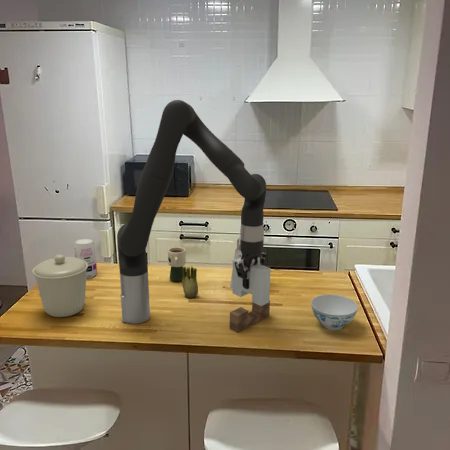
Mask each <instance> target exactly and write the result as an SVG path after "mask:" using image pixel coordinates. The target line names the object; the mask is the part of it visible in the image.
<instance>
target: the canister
mask: <svg viewBox="0 0 450 450" xmlns="http://www.w3.org/2000/svg"><path fill="white" fill-rule="evenodd" d="M87 268H88V263H87V262H86V261H84V260H81V259H79V258H75V256H65V255H64V254H62V253H59V254H56V255H55V256H54V257H52V258H49V259H46V260H42V261H41V262H40V263H38V264H37V265H36V266H34V268H32V269H31V270H32V274H33V276H34V277H35V280H36V285H37V289H38V293H39V296H40V300H41V302H42V303H41V304H42V307H43V310H44V312H46V314H47V315H49V316H51V317H55V318H65V317H71V316H73V315H76V314H78V313H80V312H81V311H82V310H83V308H84V307H85V304H86V303H85V302H86V291H87V290H86V288H87V278H86V269H87Z"/></svg>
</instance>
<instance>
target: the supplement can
mask: <svg viewBox="0 0 450 450" xmlns="http://www.w3.org/2000/svg"><path fill="white" fill-rule="evenodd" d="M73 249H74V257H75V258H79V259H81V260H84V261H86V262H87V263H88V268H87V269H86V279H92V278H94V277H95V276H96V275H97V274H98V267H97V256H96V255H97V254H96V243H95V242H94V240H93V239H92V238H79V239H77V240H76V241H74V244H73Z"/></svg>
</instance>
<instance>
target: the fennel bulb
mask: <svg viewBox="0 0 450 450" xmlns="http://www.w3.org/2000/svg"><path fill="white" fill-rule="evenodd" d="M182 271H183V279H182V280H181V282H182V289H183V293H184V295H185V297H186V298H189V299H191V298H195V297H197V295H198V294H199V284H198V281H197V280H198V279H197V271H198V268H197V267H194V266H186V265H184V266H183V267H182Z"/></svg>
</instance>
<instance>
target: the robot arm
mask: <svg viewBox="0 0 450 450" xmlns="http://www.w3.org/2000/svg"><path fill="white" fill-rule="evenodd" d="M183 136H185V137H186V138H188V139H189V140H190V141H191V142H193V143H194V144H195V145H196V146H197V147H198V148H199V149H200V150H201V151H202V153H203V154H204V155H205V156H206V157H207V159H208V160H209V161H210V162H211V163H212V165H214V166H215V168H216V169H218V171H220V172H221V174H223V176H225V177H226V178H227V179H228V180H229V182H230V184H231V185H232V187H234V189H235V191H236V192H237V193H238V194H239V196H241V197H242V198H244V203H243V206H242V208H241V214H240V216H241V217H240V229H239V230H240V235H239V238H240V251H241V252H242V257H241V260H240V261H239V262H237V261H236V262H235V268H236V271H237V275H238V277H240V278H243V284H242V286H243V288H245V289H249V277H250V272H251V267H253V265H256V264H257V265H258V264H261V265H263V266H266V264H267V260H268V253H266V252H263V251H264V239H265V238H264V237H265V229H264V207H265V203H266V202H265V201H266V196H267V183H266V179H265V178H264V177H263V176H262V175H261V174H259V173H252V174H251V173H250V172H249V171H248V170H247V168H246V167H245V163H244V162H243V160H242V159H241V158H240V157H239V156H238V155H237V154H236V153H235V152H234V151H233V150H232V149H230V147H228V146H227V145H226V144H225V143H224V142H223V141H222V140H220V138H218V137H217V136H216V135H215V134H214V133H213V132H212V131H211V130H210V129H209V128H208V126H206V125H205V123H204V122H203V121H202V119H201V118H200V117H199V115H198V114H197V112H196V111H195V109H194V107H193V106H192V105H190V104H189V103H187V102H186V101H184V100H182V99H181V100H180V99H174V100H171V101H170V102H168V103H167V104H166V105H165V107H164V108H163V110H162V113H161V118H160V121H159V126H158V130H157V133H156V137H155V140H154V143H153V145H152V147H151V149H150V152H149V154H148V157H147V160H146V162H145V165H144V166H143V169H142V172H141V175H140V177H139V180H138V183H137V188H136V191H135V197H134V204H133V208H132V213H131V215H130V218H129V219H128V222H126V223H124V224H123V225H121V226H120V228H119V229H118V231H117V233H116V239H117V242H116V243H117V244H116V245H117V255H118V268H119V280H120V281H119V282H120V306H121V318H122V320H121V322H122V323H127V324H133V325H135V324H137V325H138V324H142V323H145V322H147V321H148V320H149V319H150V317H151V310H150V287H149V265H148V257H147V246H148V243H149V239H150V235H151V232H152V228H153V225H154V222H155V218H156V216H157V214H158V212H159V210H160V208H161V205H162V203H163V200H164V198H165V196H166V193H167V191H168V188H169V186H170V184H171V180H172V178H173V175H174V169H175V164H176V162H175V161H176V156H177V155H176V154H177V150H178V147H179V144H180V142H181V140H182V138H183ZM244 266H245V267H247V268H249V269H246V268H245V267H244ZM245 271H246V272H247V274H245Z"/></svg>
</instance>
